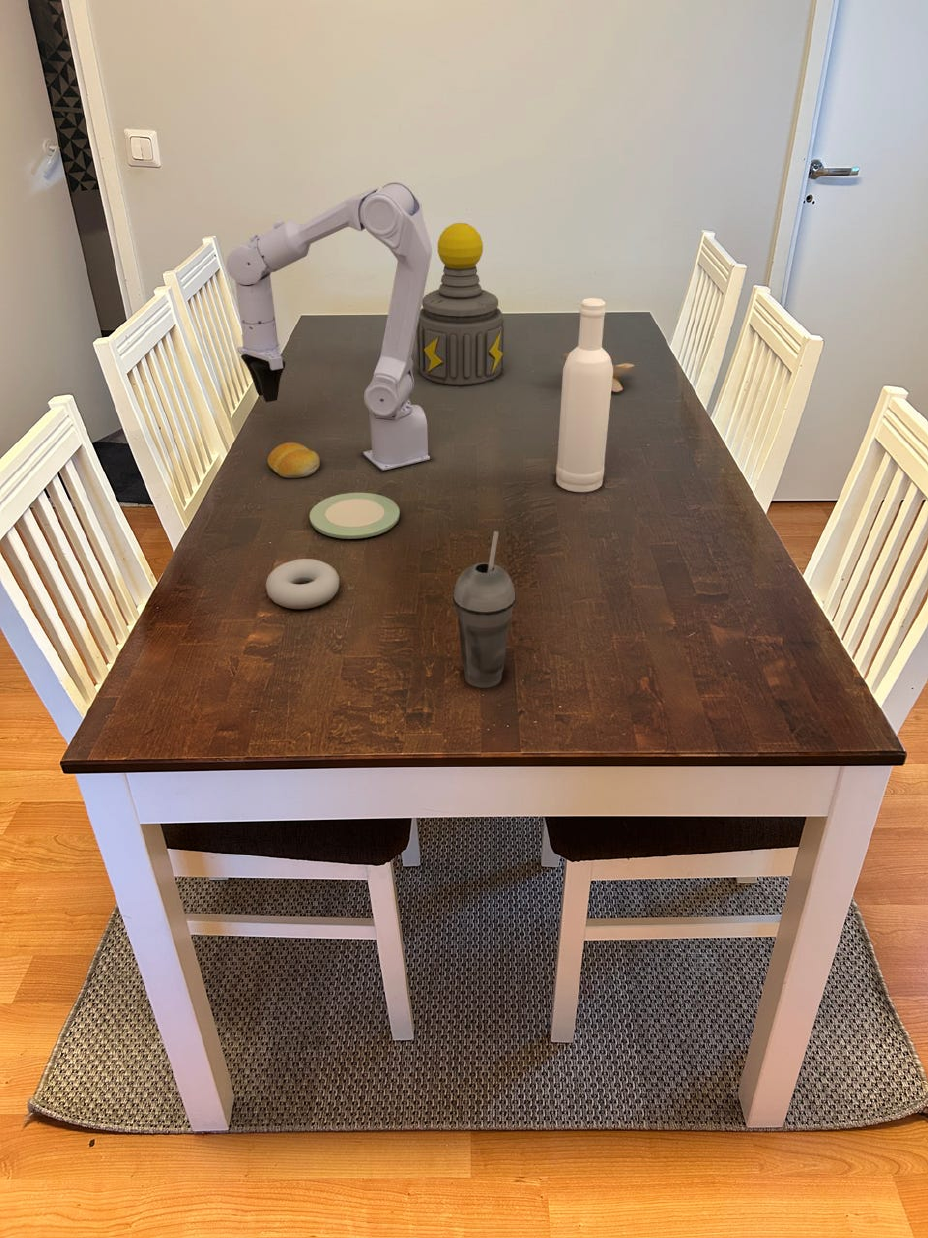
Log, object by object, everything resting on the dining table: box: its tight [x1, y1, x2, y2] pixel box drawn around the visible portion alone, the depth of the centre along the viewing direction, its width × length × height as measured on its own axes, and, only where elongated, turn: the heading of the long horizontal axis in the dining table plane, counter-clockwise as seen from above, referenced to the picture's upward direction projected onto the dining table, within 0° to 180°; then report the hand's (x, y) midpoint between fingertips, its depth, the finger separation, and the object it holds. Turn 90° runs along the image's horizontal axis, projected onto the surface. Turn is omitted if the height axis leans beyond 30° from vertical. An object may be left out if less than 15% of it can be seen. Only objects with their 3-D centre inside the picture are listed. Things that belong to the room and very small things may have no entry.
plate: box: [309, 492, 401, 540], centre depth 145 cm, size 14×14×1 cm
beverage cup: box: [452, 530, 517, 689], centre depth 107 cm, size 7×7×20 cm
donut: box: [265, 558, 341, 610], centre depth 127 cm, size 10×4×10 cm
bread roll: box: [267, 441, 321, 479], centre depth 159 cm, size 8×9×4 cm
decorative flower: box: [560, 352, 636, 393], centre depth 190 cm, size 15×11×10 cm
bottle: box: [555, 297, 613, 493], centre depth 148 cm, size 8×8×30 cm
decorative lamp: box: [415, 222, 505, 387], centre depth 191 cm, size 19×19×30 cm
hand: (267, 397), depth 162 cm, fingers open, 3 cm apart
